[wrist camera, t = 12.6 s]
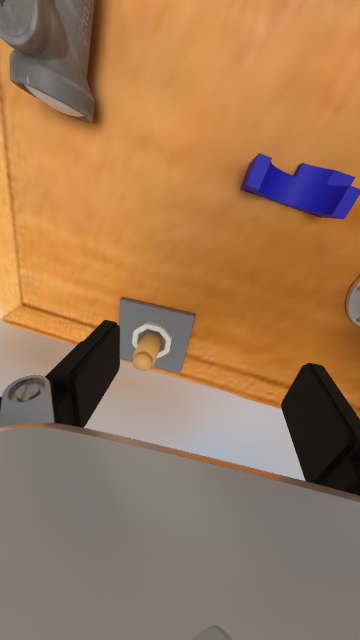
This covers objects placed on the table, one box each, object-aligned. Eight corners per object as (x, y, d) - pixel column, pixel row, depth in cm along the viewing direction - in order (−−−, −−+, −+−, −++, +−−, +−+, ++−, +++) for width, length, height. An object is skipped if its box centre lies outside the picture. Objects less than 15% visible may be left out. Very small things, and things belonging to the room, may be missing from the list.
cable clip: (341, 180, 27) (372, 173, 22) (320, 217, 29) (344, 219, 24) (255, 149, 27) (265, 135, 22) (240, 189, 29) (246, 185, 24)
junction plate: (195, 313, 39) (194, 319, 37) (181, 369, 46) (179, 376, 44) (122, 296, 39) (118, 301, 37) (119, 354, 46) (115, 361, 44)
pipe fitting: (103, 134, 28) (53, 100, 19) (45, 107, 27) (-35, 59, 18) (124, -3, 22) (66, -146, 13) (51, -41, 22) (-61, -217, 13)
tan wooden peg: (164, 333, 40) (155, 357, 34) (161, 349, 42) (151, 375, 36) (144, 328, 40) (131, 351, 34) (141, 345, 42) (129, 370, 36)
